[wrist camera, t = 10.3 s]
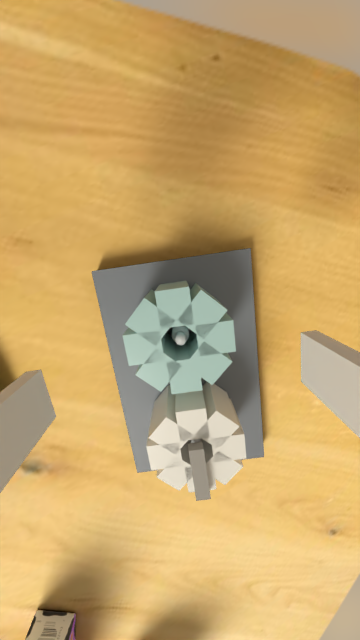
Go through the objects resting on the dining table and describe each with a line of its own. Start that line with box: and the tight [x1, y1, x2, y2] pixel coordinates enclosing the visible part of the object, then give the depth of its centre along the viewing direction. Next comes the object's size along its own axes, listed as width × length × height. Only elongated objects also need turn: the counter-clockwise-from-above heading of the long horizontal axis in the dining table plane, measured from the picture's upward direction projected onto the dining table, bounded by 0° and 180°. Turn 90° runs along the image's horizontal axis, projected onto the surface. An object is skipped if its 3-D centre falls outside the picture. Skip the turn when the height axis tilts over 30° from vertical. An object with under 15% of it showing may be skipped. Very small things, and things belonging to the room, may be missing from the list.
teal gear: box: [123, 281, 236, 394], centre depth 20 cm, size 8×8×5 cm
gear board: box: [92, 248, 264, 473], centre depth 22 cm, size 22×14×6 cm, turn 8°
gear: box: [146, 381, 246, 501], centre depth 21 cm, size 8×8×6 cm
